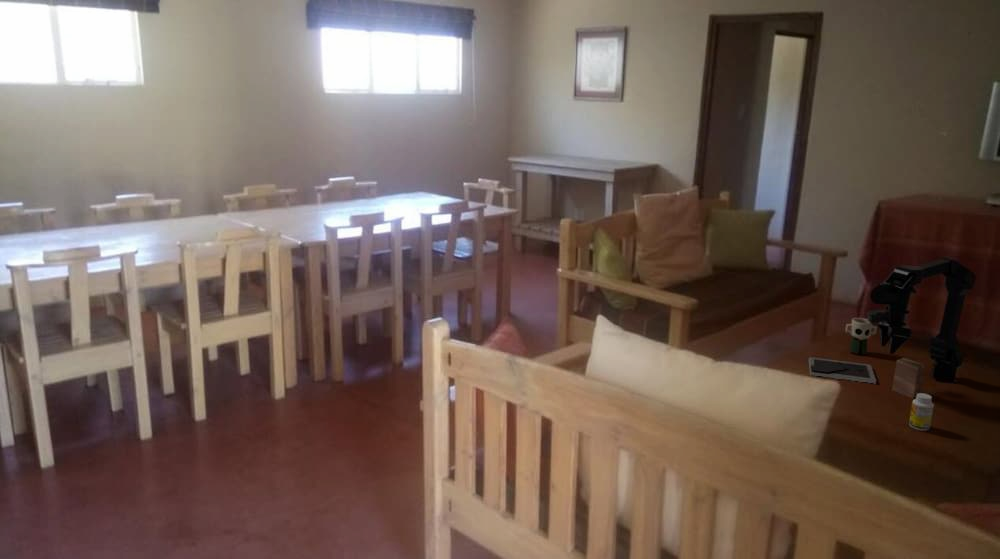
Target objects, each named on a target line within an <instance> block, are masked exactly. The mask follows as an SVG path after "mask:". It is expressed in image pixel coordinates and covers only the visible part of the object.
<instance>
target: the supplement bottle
mask: <svg viewBox="0 0 1000 559" xmlns="http://www.w3.org/2000/svg"><path fill="white" fill-rule="evenodd" d="M932 398H933V397H932V395H930V394H928V393H922V392H920V393H918V394H917V396H916V397H915V399H913V400H912V402H911V408H910V414H909V421H908V425H909V426H910V427H911V428H912V429H914V430H917V431H928V430H930V428H931V423H932V417H933V413H934V406H935V403H933V402H932Z"/></svg>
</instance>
